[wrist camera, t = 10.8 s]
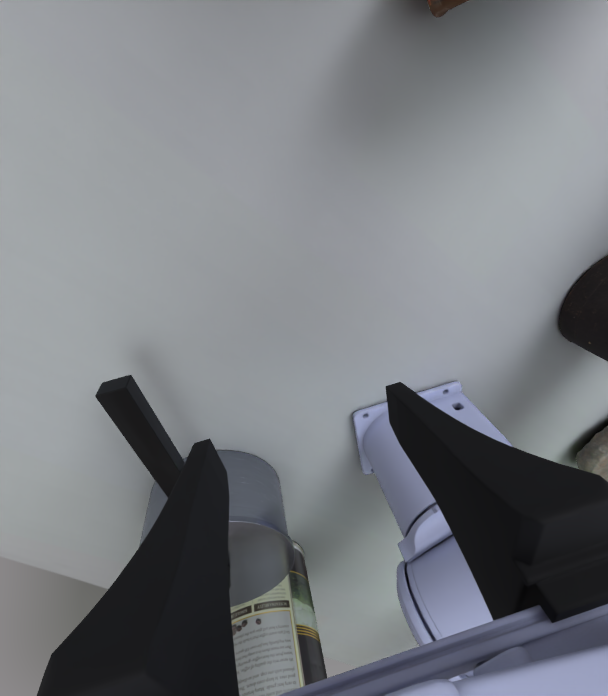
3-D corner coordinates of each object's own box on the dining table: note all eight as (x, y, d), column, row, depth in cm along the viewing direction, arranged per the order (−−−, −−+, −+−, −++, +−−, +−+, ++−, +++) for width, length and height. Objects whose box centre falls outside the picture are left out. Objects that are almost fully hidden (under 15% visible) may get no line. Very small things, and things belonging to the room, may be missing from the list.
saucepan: (222, 320, 22) (220, 393, 15) (295, 511, 33) (311, 598, 27) (39, 370, 21) (-43, 469, 15) (179, 548, 33) (168, 646, 26)
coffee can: (322, 544, 37) (368, 730, 25) (272, 593, 41) (292, 778, 29) (239, 527, 33) (247, 744, 21) (191, 584, 36) (175, 798, 24)
